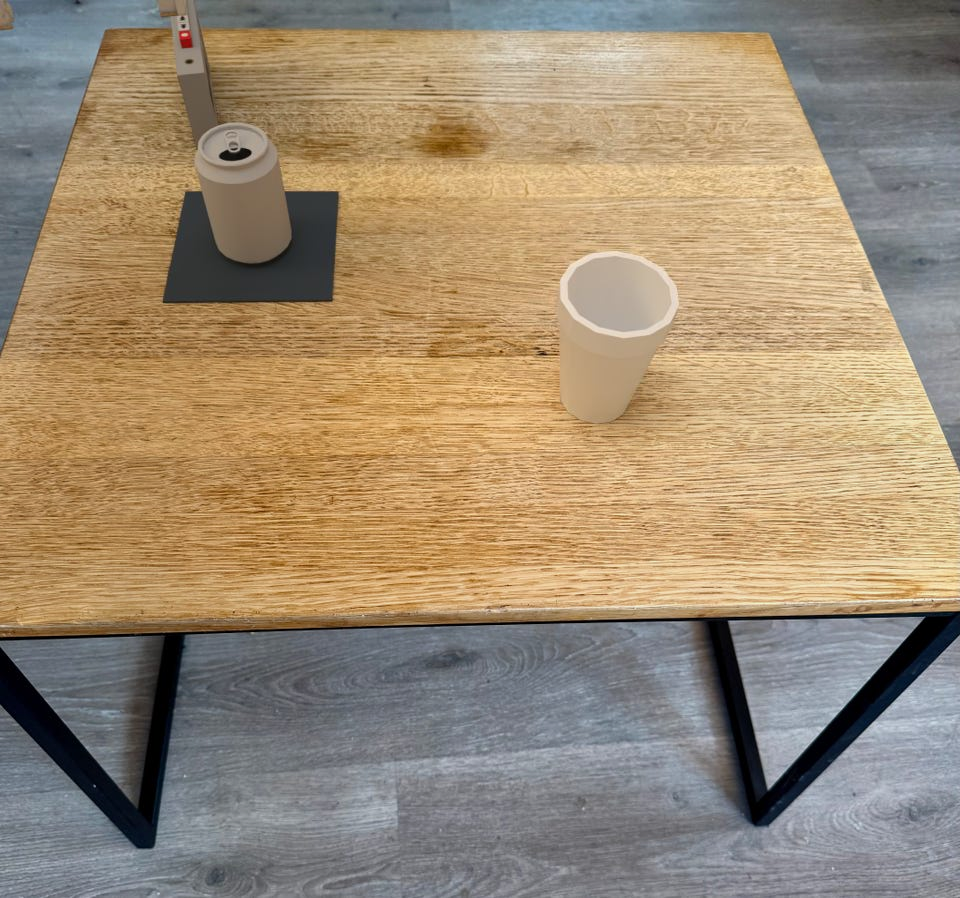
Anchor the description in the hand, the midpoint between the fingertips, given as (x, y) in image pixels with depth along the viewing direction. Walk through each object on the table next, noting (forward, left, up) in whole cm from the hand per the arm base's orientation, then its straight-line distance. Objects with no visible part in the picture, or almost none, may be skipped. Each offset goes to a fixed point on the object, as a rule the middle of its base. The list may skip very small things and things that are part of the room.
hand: (88, 18), depth 50 cm
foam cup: (+34, -1, -34) cm, 48 cm away
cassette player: (-6, +42, -34) cm, 55 cm away
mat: (+2, +19, -34) cm, 39 cm away
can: (+2, +19, -34) cm, 39 cm away
